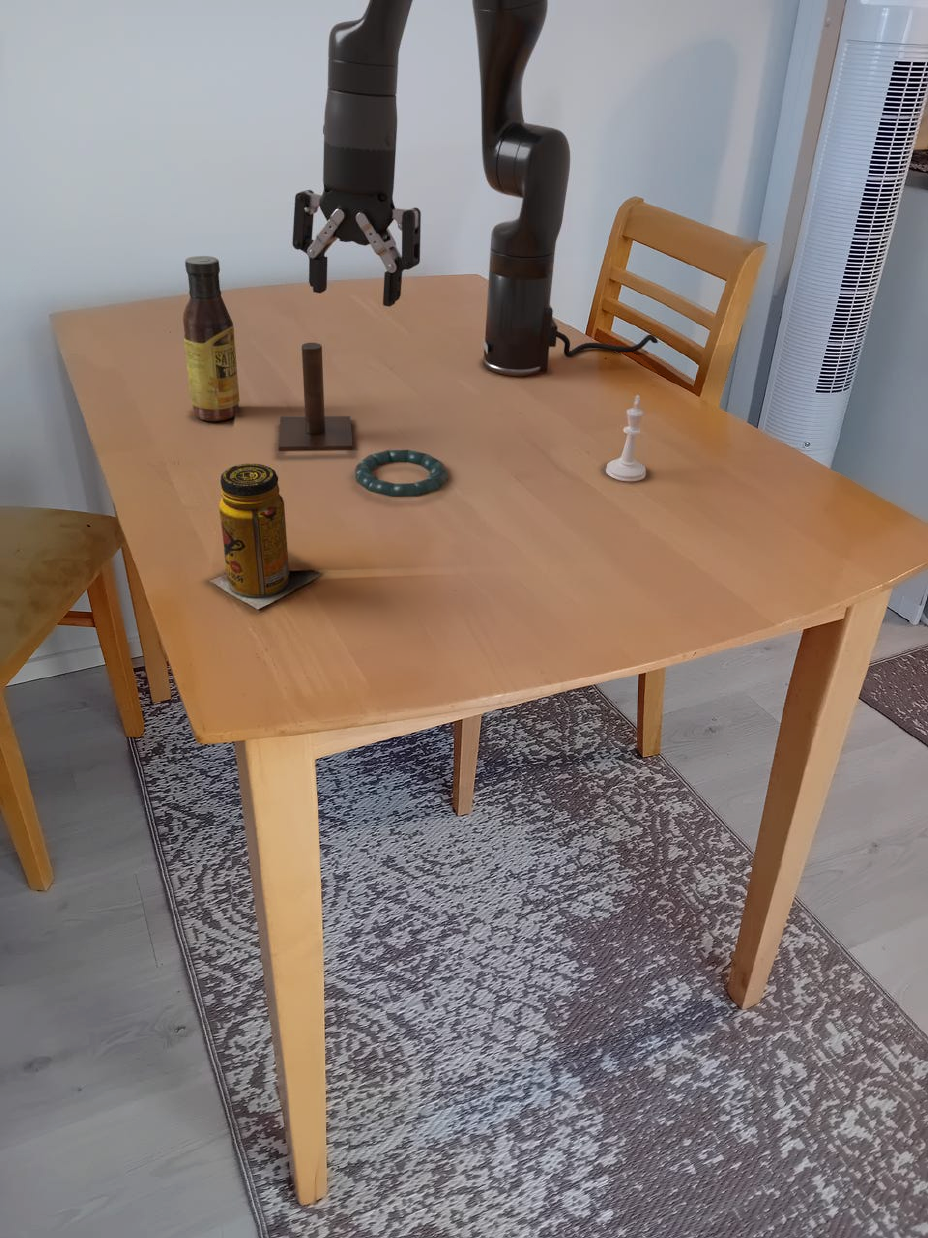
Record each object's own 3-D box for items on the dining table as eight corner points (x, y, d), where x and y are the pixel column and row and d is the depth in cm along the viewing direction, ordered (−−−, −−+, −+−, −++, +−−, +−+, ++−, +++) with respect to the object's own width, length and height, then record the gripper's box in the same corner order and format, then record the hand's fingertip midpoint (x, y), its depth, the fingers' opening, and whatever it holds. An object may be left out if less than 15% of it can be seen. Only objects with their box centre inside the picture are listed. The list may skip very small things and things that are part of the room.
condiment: (209, 582, 97) (195, 473, 90) (275, 550, 102) (267, 445, 95) (257, 611, 93) (247, 500, 86) (323, 577, 99) (318, 469, 92)
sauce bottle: (229, 426, 127) (213, 269, 115) (184, 420, 127) (164, 264, 116) (248, 407, 132) (235, 255, 120) (205, 401, 133) (188, 250, 121)
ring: (441, 461, 121) (441, 446, 120) (451, 503, 112) (452, 487, 111) (354, 462, 120) (353, 447, 119) (357, 505, 111) (357, 489, 110)
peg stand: (350, 426, 128) (348, 332, 121) (352, 456, 121) (350, 359, 114) (281, 427, 127) (274, 332, 120) (279, 457, 120) (272, 359, 113)
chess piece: (648, 468, 122) (661, 392, 117) (641, 484, 118) (654, 407, 113) (610, 460, 123) (621, 385, 118) (601, 477, 120) (612, 400, 114)
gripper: (436, 147, 103) (424, 302, 112) (313, 128, 106) (311, 280, 115) (411, 153, 97) (400, 317, 106) (281, 133, 100) (281, 294, 109)
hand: (354, 298), depth 110 cm, fingers open, 8 cm apart
